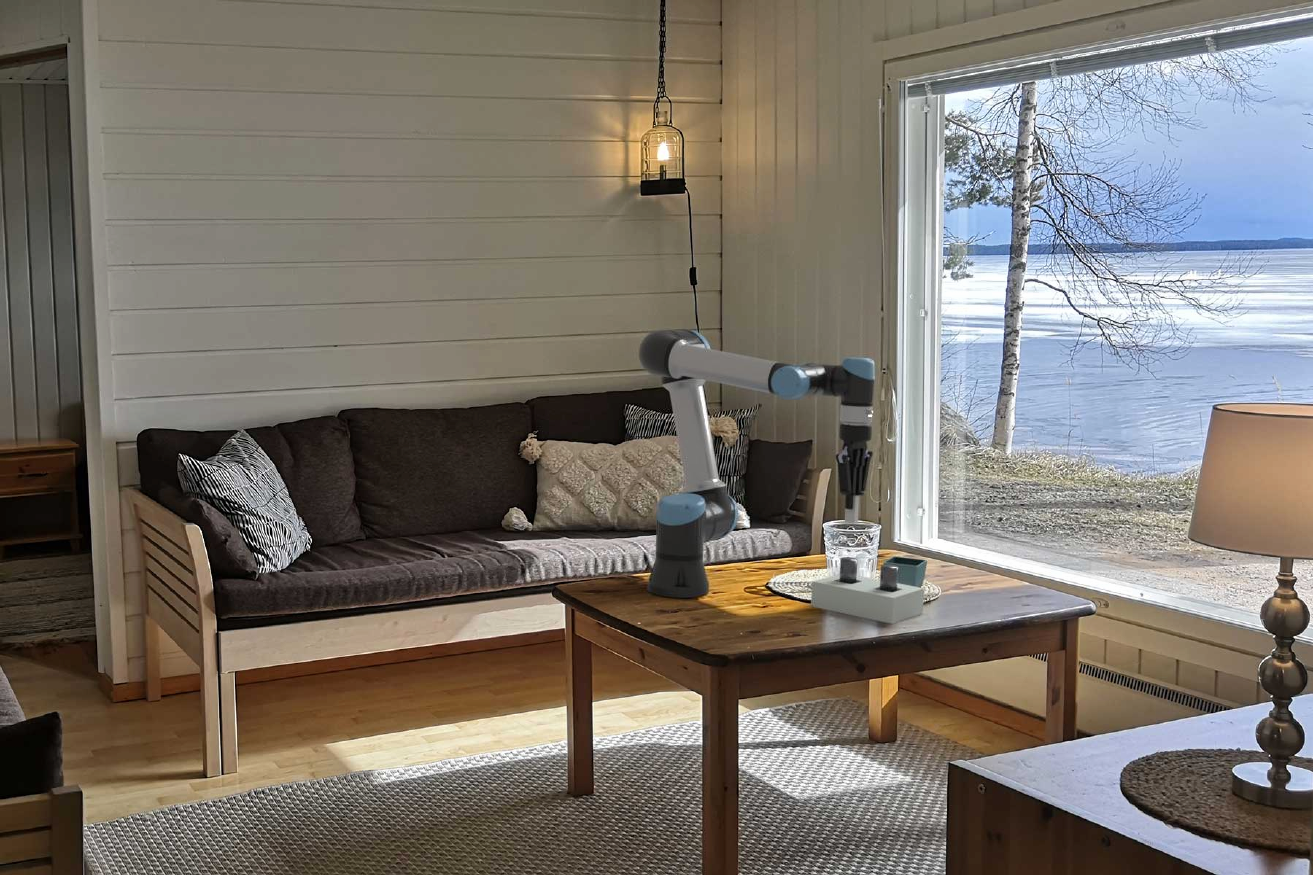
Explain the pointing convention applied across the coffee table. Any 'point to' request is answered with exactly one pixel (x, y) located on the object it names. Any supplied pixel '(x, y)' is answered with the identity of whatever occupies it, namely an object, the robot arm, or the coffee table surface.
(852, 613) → the peg block
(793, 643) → the coffee table surface
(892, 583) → the right peg
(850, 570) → the left peg
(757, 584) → the coffee table surface
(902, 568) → the flower pot
